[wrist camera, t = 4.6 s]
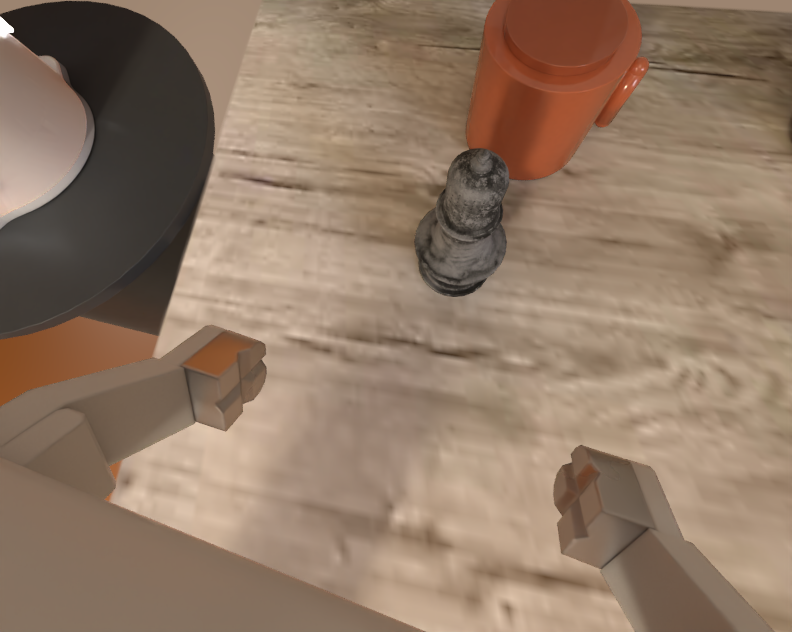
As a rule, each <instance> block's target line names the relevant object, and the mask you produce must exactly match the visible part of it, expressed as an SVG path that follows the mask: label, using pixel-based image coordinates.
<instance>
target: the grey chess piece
mask: <svg viewBox="0 0 792 632" xmlns="http://www.w3.org/2000/svg"><path fill="white" fill-rule="evenodd" d="M508 184H509V171H508V167H507V165H506V164H505V162H504V161H503V159H502V158H501V157H500V156H499V155H498V154H496V153H494V152H493V151H491V150H488V149H483V148H475V149H470V150H467V151H465V152H463V153H461V154H460V155H458V156H457V157H456V158H455V159H454V161H453V162H452V164H451V166H450V168H449V170H448V176H447V183H446V188H445V189H444V191H443V192H442V193H441V194H440V196H439V198H438V200H437V203H436V207H435V208H434V209H432V210H431V211H429V212H428V213H427V214H426V215H425V217H424V218H423V219H422V220H421V222H420V224H419V226H418V228H417V230H416V235H415V241H414V242H415V251H416V255H417V257H418V259H419V270H420V273H421V275H422V278H423V280H424V281H425V282H426V284H427V285H428V286H429V287H430V288H432V289H433V290H434V291H436V292H438V293H440V294H443V295H445V296H452V297H458V296H465V295H467V294H470V293H473V292H474V291H476V290H477V289H478V288H480V287H481V286H482V284H483V283H484V282H485V281H486V279H487V277H489V276H490V275H492V274H493V273H494V272H495V271H496V269H497V268H498V267H499V266H500V264H501V263H502V260H503V258H504V255H505V253H506V243H507V241H506V236H505V231H504V229H503V227H502V225H501V223H500V222H501V220H502V215H503V208H502V203H501V202H502V200H503V197H504V195H505V193H506V190H507V188H508Z"/></svg>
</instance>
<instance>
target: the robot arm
mask: <svg viewBox="0 0 792 632" xmlns="http://www.w3.org/2000/svg"><path fill="white" fill-rule="evenodd" d="M13 31H14V29H13V28H12V27H11V26H10V25H8V24H7V23H6V22H5V21H4V20H3V19H2V18H1V17H0V229H1V228H2V227H3V226H5V225H6V224H7V223H8V222H10V221H11V220H13V219H15V218H17V217H19V216H21V215H24V214H26V213H29V212H31V211H33V210H35V209H37V208H39V207H41V206H43V205H44V204H46V203H48V202H49V201H51V200H52V199H53V198H55V197H56V196H57V195H59V194H60V193H61V192H62V191H63V190H64V189H65V188H66V187H67V186H68V185H69V184H70V183H71V182H72V181H73V180H74V179H75V177H76V176H77V175H78V173H79V172H80V171H81V169H82V168H83V166H84V164H85V162H86V160H87V158H88V156H89V154H90V151H91V148H92V145H93V140H94V133H95V125H94V118H93V114H92V111H91V109H90V107H89V105H88V104H87V102H86V101H85V100H84V98H83V97H82V96H81V95H80V94H79V93H77V92H76V91H75V90H74V89H73V87H72V86H71V84H70V80H69V76H68V73H67V70H66V68H65V67H64V66H63V65H62V64H61V63H59V62H58V61H57V60H56V59H54V58H53V57H51V56H37V55H35V54H34V53H33V52H32V51H30V50H29V49H28V48H27V47H26V46H24V45H23V44H22V43H21V42H19V41H18V40H17V39H16V38H14V37H13V36H12V35H11V34H10V33H12V32H13ZM265 355H266V348H265V344H264V343H262V342H261V341H258V340H255V339H252V338H249V337H247V336H244V335H241V334H238V333H235V332H232V331H230V330H225V329H223V328H220V327H217V326H214V325H208V326H205V327H204V328H202V329H201V330H199V331H198V332H197V333H195V334H194V335H192V336H191V337H190V338H188V339H187V340H185V341H184V342H183V343H181V344H180V345H179V346H177V347H176V348H174V349H173V350H172V351H170V352H169V353H167V354H166V355H165V356H163V357H162V358H160V359H157V358H150V359H146V360H143V361H139V362H135V363H131V364H127V365H123V366H119V367H116V368H112V369H108V370H104V371H100V372H96V373H93V374H89V375H85V376H81V377H77V378H73V379H69V380H66V381H62V382H58V383H54V384H51V385H47V386H43V387H39V388H35V389H31V390H28V391H26V392H24V393H23V394H21V395H19V396H18V397H16V398H14V399H12V400H11V401H9V402H7V403H6V404H4V405H2V406H1V407H0V632H425V631H423V630H420V629H418V628H415V627H413V626H410V625H408V624H406V623H403V622H401V621H398V620H396V619H393V618H391V617H389V616H386V615H384V614H381V613H379V612H376V611H374V610H372V609H369V608H367V607H364V606H362V605H359V604H357V603H355V602H352V601H350V600H347V599H345V598H342V597H340V596H337V595H335V594H333V593H330V592H328V591H325V590H323V589H320V588H318V587H316V586H313V585H311V584H308V583H306V582H303V581H301V580H299V579H296V578H294V577H291V576H289V575H286V574H284V573H282V572H279V571H277V570H274V569H272V568H269V567H267V566H264V565H262V564H260V563H257V562H255V561H252V560H250V559H247V558H245V557H243V556H240V555H238V554H235V553H233V552H230V551H228V550H226V549H223V548H221V547H218V546H216V545H213V544H211V543H208V542H206V541H204V540H201V539H199V538H196V537H194V536H191V535H189V534H187V533H184V532H182V531H179V530H177V529H174V528H172V527H169V526H167V525H165V524H162V523H160V522H157V521H155V520H152V519H150V518H148V517H145V516H143V515H140V514H138V513H135V512H133V511H130V510H128V509H126V508H123V507H121V506H118V505H116V504H113V503H111V502H109V501H106V500H104V499H105V498H106V497H107V496H108V495H109V494H110V493H111V492H112V491H113V490H114V489H115V487H116V481H115V478H114V476H113V474H112V472H111V470H110V467H109V466H110V465H112V464H114V463H116V462H118V461H120V460H122V459H125V458H127V457H129V456H131V455H133V454H135V453H137V452H139V451H141V450H143V449H145V448H147V447H149V446H151V445H153V444H155V443H157V442H159V441H161V440H163V439H165V438H167V437H169V436H171V435H173V434H175V433H177V432H179V431H181V430H183V429H185V428H187V427H189V426H191V425H193V424H195V421H196V422H199V423H202V424H205V425H208V426H211V427H214V428H217V429H220V430H223V431H227V430H228V429H229V427H230V426H231V425H232V424H233V423H234V422H235V421H236V419H237V418H238V417H239V416H240V415H241V414H242V412H243V404H244V403H247V402H249V401H252V400H254V398H255V397H256V396H257V395H258V394H259V392H260V391H261V389H262V387H263V385H264V383H265V379H266V374H267V373H266V366H265V364H264V363H263V361H262V360H261V359H262V358H263V357H264V356H265ZM571 458H572V463H569V464H566V465H563V466H562V467H561V469H560V470H559V472H558V473H557V475H556V479H555V482H554V492H553V495H554V504H555V506H556V507H557V509H558V510H559V512H560V513H561V515H562V518H561V519H560V520H559V522H558V523H557V526H558V533H559V541H560V548H561V554H564V555H566V556H569V557H571V558H574V559H576V560H579V561H581V562H584V563H587V564H589V565H592V566H594V567H597V568H599V569H601V570H600V572H601V574H602V575H603V577H604V579H605V581H606V582H607V584H608V586H609V587H610V589H611V591H612V593H613V594H614V596H615V598H616V600H617V601H618V603H619V605H620V606H621V608H622V610H623V612H624V613H625V615H626V617H627V618H628V620H629V622H630V624H631V625H632V627H633V629H634V631H635V632H775V631H774V630H773V629H772V628H771V627H770V626H769V625H768V624H767V623H766V622H765V621H764V620H763V619H762V618H761V616H760V615H759V614H758V613H757V612H756V611H755V610H754V609H753V608H752V607H751V606H750V605H749V604H748V602H747V601H746V600H745V599H744V598H743V597H742V596H741V595H740V594H739V593H738V592H737V591H736V590H735V588H734V587H733V586H732V585H731V584H730V583H729V582H728V581H727V580H726V579H725V578H724V577H723V576H722V574H721V573H720V572H719V571H718V570H717V569H716V568H715V567H714V566H713V565H712V564H711V563H710V562H709V561H708V559H707V558H706V557H705V556H704V555H703V554H702V553H701V552H700V551H699V550H698V549H697V548H696V547H695V545H694V544H693V543H691V542H688V541H685V540H684V538H683V536H682V534H681V531H680V529H679V527H678V524H677V522H676V520H675V517H674V515H673V513H672V510H671V508H670V506H669V503H668V501H667V499H666V496H665V494H664V492H663V489H662V487H661V485H660V482H659V480H658V478H657V475H656V473H655V471H654V470H653V469H652V468H651V467H650V466H647V465H644V464H640V463H637V462H634V461H631V460H628V459H623V458H621V457H618V456H614V455H611V454H608V453H605V452H602V451H599V450H595V449H592V448H589V447H586V446H583V445H580V446H578V447H576V448H575V449H574V451H573V452H572V453H571Z"/></svg>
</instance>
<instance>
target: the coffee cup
mask: <svg viewBox="0 0 792 632" xmlns="http://www.w3.org/2000/svg"><path fill="white" fill-rule="evenodd" d="M641 40H642V30H641V25H640V21H639V18H638V16H637V13H636V11H635V10H634V8H633V7H632V5H631V4H630V3H629V2H628V1H627V0H496V1H495V2H494V3H493V5H492V7H491V8H490V10H489V12H488V15H487V17H486V21H485V25H484V31H483V36H482V42H481V47H480V53H479V58H478V63H477V69H476V74H475V80H474V85H473V90H472V96H471V101H470V107H469V112H468V118H467V123H466V139H467V143H468V146H469V148H470V149H475V148H483V149H488V150H491V151H493V152H494V153H496V154H498V155H499V156H500V157H501V158H502V159H503V161H504V162H505V164H506V165H507V167H508V171H509V178H510V179H516V180H533V179H539V178H543V177H546V176H548V175H551V174H553V173H555V172H557V171H558V170H560V169H561V168H562V167H564V166H565V165H566V164H567V163H568V162H569V161H570V160H571V158H572V157H573V155H574V154H575V152H576V151H577V149H578V148H579V146H580V144H581V143H582V141H583V140H584V138H585V137H586V135H587V134H588V132H589V131H590V129H591V127H592V126H593V124H594V123H595V124H596V125H597V126H598V127H606V126H608V125H609V124H610V123H611V122H612V120H613V119H614V118H615V116H616V115H617V113H618V112H619V111H620V109H621V108H622V106H623V105H624V103H625V102H626V101H627V99H628V98H629V96H630V95H631V94H632V92H633V91H634V89H635V88H636V86H637V85H638V84H639V82H640V81H641V79H642V78H643V76H644V75H645V74H646V72H647V71H648V68H649V61H648V59H647V58H646V57H643V56H640V57H637V55H638V53H639V50H640V46H641Z"/></svg>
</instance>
